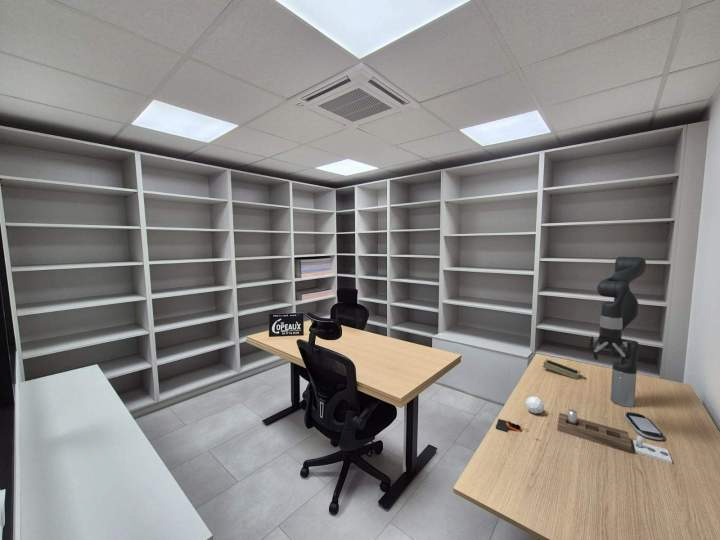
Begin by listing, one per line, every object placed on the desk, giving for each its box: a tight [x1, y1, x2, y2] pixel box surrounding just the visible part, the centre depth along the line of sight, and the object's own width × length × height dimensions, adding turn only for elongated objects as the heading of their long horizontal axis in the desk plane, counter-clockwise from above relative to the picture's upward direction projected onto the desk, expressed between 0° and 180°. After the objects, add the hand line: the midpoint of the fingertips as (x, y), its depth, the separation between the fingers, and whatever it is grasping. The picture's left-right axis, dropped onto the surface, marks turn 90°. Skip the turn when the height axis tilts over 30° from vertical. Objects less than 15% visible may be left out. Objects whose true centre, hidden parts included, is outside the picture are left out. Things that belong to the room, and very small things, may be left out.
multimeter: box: [495, 418, 542, 441], centre depth 132 cm, size 18×12×3 cm, turn 51°
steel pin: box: [567, 409, 578, 426], centre depth 132 cm, size 3×3×8 cm
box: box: [542, 358, 587, 380], centre depth 187 cm, size 8×22×5 cm, turn 49°
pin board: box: [557, 412, 632, 454], centre depth 128 cm, size 11×24×3 cm, turn 53°
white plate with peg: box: [632, 435, 673, 465], centre depth 116 cm, size 8×10×5 cm
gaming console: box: [624, 411, 665, 442], centre depth 132 cm, size 19×9×2 cm, turn 157°
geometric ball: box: [525, 395, 545, 415], centre depth 145 cm, size 8×8×8 cm
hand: (608, 361), depth 132 cm, fingers open, 8 cm apart
